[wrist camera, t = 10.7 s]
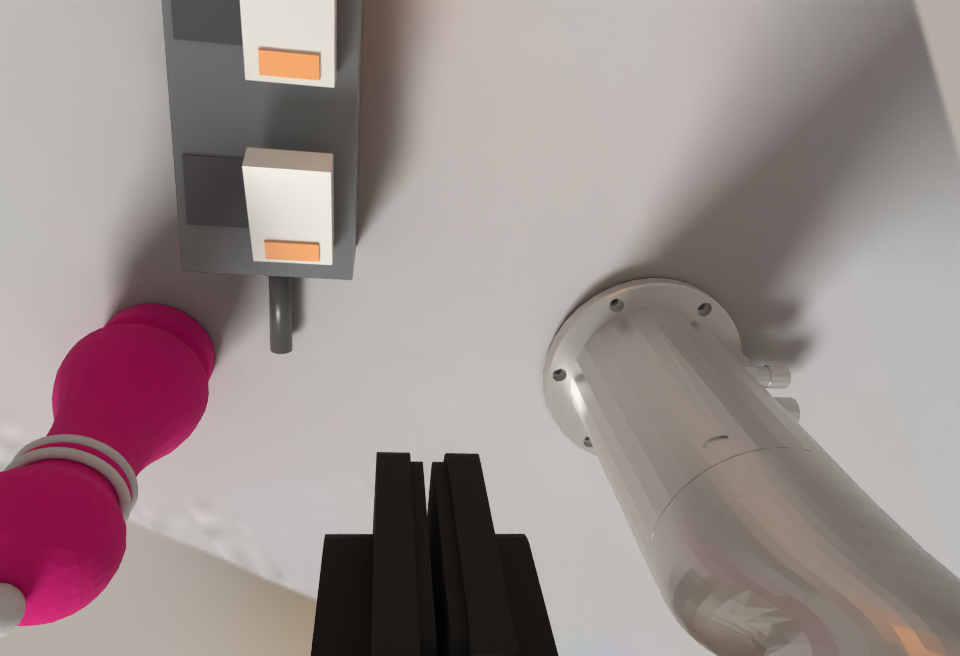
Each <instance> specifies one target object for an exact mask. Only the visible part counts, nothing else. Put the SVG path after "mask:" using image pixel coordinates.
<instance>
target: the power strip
mask: <svg viewBox="0 0 960 656" xmlns="http://www.w3.org/2000/svg"><path fill="white" fill-rule="evenodd" d="M162 12H163V26H164V39H165V52H166V65H167V78H168V91H169V104H170V117H171V130H172V143H173V156H174V169H175V182H176V195H177V208H178V221H179V234H180V247H181V260H182V271H184V272H204V273H224V274H244V275H264V276H269V308H270V349H271V351H272V352H273V353H276V354H286V353H289V352H291V351H292V277H303V278H323V279H343V280H352V277H353V268H354V260H355V251H356V228H357V194H358V160H359V126H360V92H361V59H362V25H363V0H337V77H336V82H335V87H334V88H331V87H320V86H308V85H297V84H286V83H275V82H264V81H253V80H245V68H244V54H243V40H242V26H241V12H240V0H162ZM247 147H251V148H264V149H277V150H291V151H304V152H317V153H330V154H333V180H334V254H333V264H332V265H319V264H300V263H282V262H263V261H253V254H252V245H251V237H250V229H249V220H248V212H247V204H246V196H245V187H244V179H243V171H242V164H243V160H244V156H245V153H246V149H247Z"/></svg>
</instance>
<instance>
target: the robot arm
mask: <svg viewBox="0 0 960 656" xmlns="http://www.w3.org/2000/svg"><path fill="white" fill-rule="evenodd" d="M614 299H616V301H615V302H614V303H611V301H613V300H614ZM701 304H702V305H701ZM700 305H701V306H700ZM699 306H700V307H699ZM557 369H559V370H558V371H555V370H557ZM790 379H791V375H790V371H789V369H788V368H787V367H785V366H767V365H765V366H755V365H754V364H753V363H752V362H751V361H750V360H749V359H748V358H747V357H746V356H745V355H744V354H743V353H742V346H741V340H740V337H739V334H738V331H737V328H736V326H735V324H734V322H733V321H732V319H731V317H730V316H729V314H728V313H727V312H726V311H725V310H724V309H723V307H722V306H721V305H720V304H719V303H718V302H717V301H715V300H714V299H713V298H712V297H711V296H709V295H708V294H707V293H706V292H704V291H703V290H701V289H699V288H697V287H695V286H693V285H690V284H688V283H685V282H681V281H677V280H673V279H663V278H647V279H639V280H632V281H629V282H625V283H622V284H619V285H616V286H613V287H611V288H609V289H607V290H605V291H603V292H601V293H599V294H597V295H595V296H594V297H592V298H591V299H589V300H588V301H587V302H585V303H584V304H583V305H581V306H580V307H579V308H578V309H577V310H576V311H575V312H574V313H573V314H572V315H571V316H570V317H569V318H568V319H567V320H566V321H565V322H564V324H563V325H562V327H561V328H560V330H559V331H558V333H557V334H556V336H555V337H554V339H553V342H552V344H551V346H550V349H549V351H548V354H547V357H546V362H545V367H544V371H543V389H544V393H545V398H546V402H547V406H548V408H549V410H550V413H551V415H552V418H553V420H554V421H555V423H556V424H557V426H558V428H559V429H560V431H561V432H562V433H563V434H564V435H565V436H566V437H567V438H568V439H569V440H570V441H571V442H572V443H573V444H575V445H576V446H578V447H579V448H581V449H582V450H584V451H586V452H589V453H591V454H594V455H596V456H598V458H599V461H600V463H601V465H602V467H603V469H604V471H605V474H606V476H607V478H608V480H609V482H610V485H611V487H612V489H613V491H614V493H615V495H616V498H617V500H618V502H619V504H620V506H621V508H622V511H623V513H624V515H625V517H626V519H627V522H628V524H629V526H630V528H631V530H632V532H633V535H634V537H635V539H636V541H637V543H638V545H639V548H640V550H641V552H642V554H643V556H644V558H645V561H646V563H647V565H648V567H649V569H650V572H651V574H652V576H653V578H654V580H655V582H656V584H657V587H658V589H659V591H660V593H661V595H662V597H663V599H664V601H665V603H666V605H667V606H668V608H669V610H670V612H671V613H672V615H673V616H674V618H675V619H676V620H677V622H678V623H679V624H680V625H681V627H682V628H683V629H684V630H685V631H686V632H687V633H688V634H689V635H690V636H691V637H692V638H693V639H695V640H696V641H697V642H698V643H699V644H700V645H702V646H703V647H704V648H706V649H707V650H709V651H710V652H712V653H714V654H715V655H717V656H960V579H959V578H958V577H957V576H955V575H954V574H953V573H952V572H951V571H949V570H948V569H947V568H946V567H945V566H943V565H942V564H941V563H940V562H939V561H937V560H936V559H935V558H934V557H933V556H932V555H930V554H929V553H928V552H927V551H926V550H924V549H923V548H922V547H921V546H920V545H919V544H918V543H917V542H916V541H915V540H914V539H913V538H912V537H911V536H910V535H909V534H907V533H906V532H905V531H904V530H903V529H902V528H901V527H900V526H899V525H898V524H897V523H896V522H895V521H894V520H893V519H892V518H891V517H890V516H889V515H888V514H887V513H886V512H885V511H883V510H882V509H881V508H880V507H879V506H878V505H877V504H876V503H875V502H874V501H873V500H872V499H871V498H870V497H869V496H868V495H867V494H866V493H865V492H864V491H863V490H862V489H861V488H860V487H859V486H858V485H857V484H856V483H855V482H854V481H853V480H852V479H851V477H850V476H849V475H848V474H847V473H846V472H845V471H844V470H843V469H842V468H841V467H840V466H839V465H838V464H837V463H836V462H835V461H834V460H833V459H832V458H831V457H830V456H829V455H828V454H827V453H826V452H825V450H824V449H823V448H822V447H821V446H820V445H819V444H818V443H817V442H816V441H815V440H814V439H813V438H812V437H811V436H810V435H809V434H808V433H807V432H806V431H805V430H804V429H803V428H802V427H801V426H800V425H799V424H798V421H799V418H800V410H799V405H798V404H797V402H796V400H795V399H793V398H786V397H772V396H771V395H770V393H769V392H768V391H767V390H766V389H765V388H781V389H785V388H787V387H788V386H789V384H790ZM764 387H765V388H764ZM311 656H558V652H557V649H556V645H555V641H554V637H553V633H552V629H551V626H550V622H549V618H548V614H547V610H546V606H545V603H544V599H543V595H542V591H541V587H540V583H539V580H538V576H537V572H536V568H535V564H534V560H533V557H532V553H531V549H530V545H529V542H528V539H527V537H526V536H525V534H495V532H494V527H493V522H492V517H491V512H490V507H489V502H488V497H487V492H486V487H485V482H484V477H483V472H482V467H481V462H480V458H479V455H478V454H456V453H446V454H445V457H444V462H433V463H432V468H431V478H430V490H429V501H428V512H427V510H426V497H425V485H424V472H423V462H410V453H393V452H377V458H376V478H375V498H374V519H373V534H325V538H324V546H323V554H322V563H321V572H320V580H319V589H318V598H317V606H316V616H315V624H314V633H313V641H312V650H311Z"/></svg>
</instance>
